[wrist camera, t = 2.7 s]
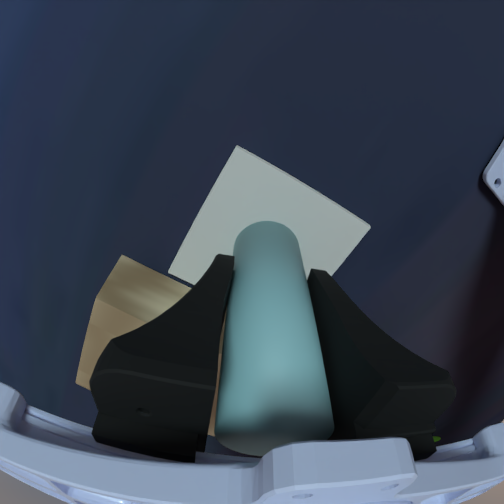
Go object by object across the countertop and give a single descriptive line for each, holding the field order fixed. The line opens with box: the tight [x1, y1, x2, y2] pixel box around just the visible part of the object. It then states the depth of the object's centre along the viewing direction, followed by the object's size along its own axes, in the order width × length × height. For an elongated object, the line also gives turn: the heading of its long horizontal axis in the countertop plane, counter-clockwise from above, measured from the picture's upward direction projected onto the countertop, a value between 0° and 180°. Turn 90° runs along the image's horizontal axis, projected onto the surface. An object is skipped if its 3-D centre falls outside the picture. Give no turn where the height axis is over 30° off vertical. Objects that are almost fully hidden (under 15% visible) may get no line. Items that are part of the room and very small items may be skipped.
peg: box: [214, 221, 334, 456], centre depth 11 cm, size 3×3×9 cm
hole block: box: [76, 255, 227, 436], centre depth 18 cm, size 16×8×4 cm, turn 60°
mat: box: [168, 145, 371, 285], centre depth 15 cm, size 7×7×1 cm
